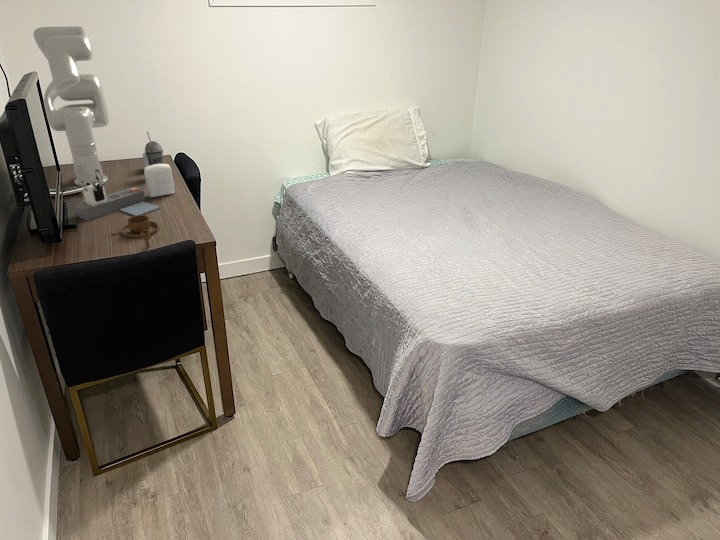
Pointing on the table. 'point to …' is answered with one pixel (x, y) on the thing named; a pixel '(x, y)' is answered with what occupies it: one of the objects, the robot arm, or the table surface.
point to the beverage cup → (154, 152)
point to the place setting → (139, 228)
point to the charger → (92, 195)
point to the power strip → (110, 203)
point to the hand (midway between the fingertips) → (96, 198)
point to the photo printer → (159, 180)
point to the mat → (139, 209)
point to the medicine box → (145, 160)
